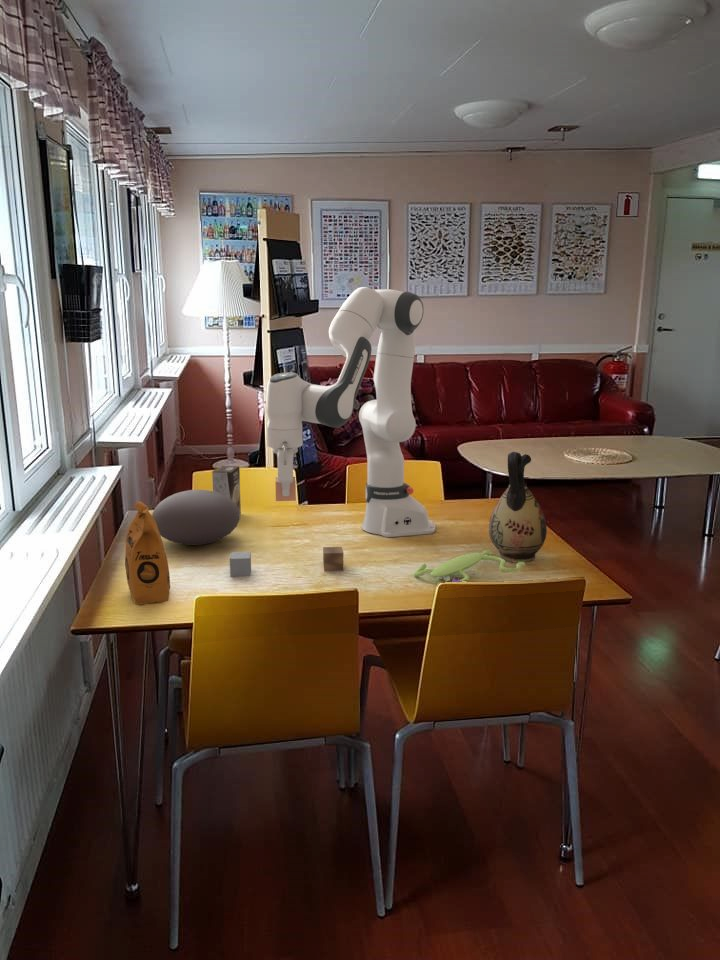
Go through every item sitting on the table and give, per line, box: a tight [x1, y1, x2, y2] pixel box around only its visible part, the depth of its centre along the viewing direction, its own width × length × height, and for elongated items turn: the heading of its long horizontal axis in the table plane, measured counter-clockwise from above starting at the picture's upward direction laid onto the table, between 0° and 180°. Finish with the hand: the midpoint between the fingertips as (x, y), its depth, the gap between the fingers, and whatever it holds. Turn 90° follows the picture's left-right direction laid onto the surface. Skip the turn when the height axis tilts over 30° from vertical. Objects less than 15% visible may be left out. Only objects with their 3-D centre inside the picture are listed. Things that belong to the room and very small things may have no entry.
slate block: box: [229, 551, 252, 578], centre depth 196 cm, size 5×5×5 cm
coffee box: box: [211, 465, 242, 515], centre depth 243 cm, size 9×6×16 cm
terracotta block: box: [275, 476, 297, 502], centre depth 193 cm, size 5×5×5 cm
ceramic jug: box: [488, 451, 548, 563], centre depth 204 cm, size 17×15×30 cm
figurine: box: [413, 549, 526, 583], centre depth 193 cm, size 18×26×6 cm
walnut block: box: [322, 546, 344, 572], centre depth 200 cm, size 5×5×5 cm
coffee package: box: [124, 501, 171, 605], centre depth 179 cm, size 10×12×22 cm
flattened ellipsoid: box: [151, 489, 241, 546], centre depth 219 cm, size 25×25×15 cm
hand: (285, 492), depth 193 cm, fingers closed on terracotta block, 5 cm apart
